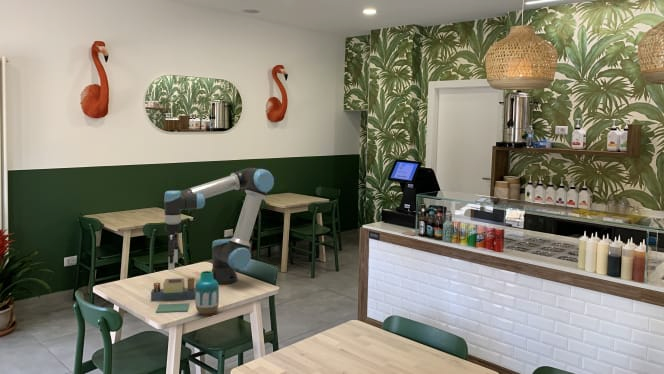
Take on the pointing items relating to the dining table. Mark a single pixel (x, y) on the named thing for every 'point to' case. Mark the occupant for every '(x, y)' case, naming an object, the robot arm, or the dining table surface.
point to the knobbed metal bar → (185, 295)
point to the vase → (206, 293)
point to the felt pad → (172, 308)
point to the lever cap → (173, 285)
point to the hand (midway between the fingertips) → (173, 265)
